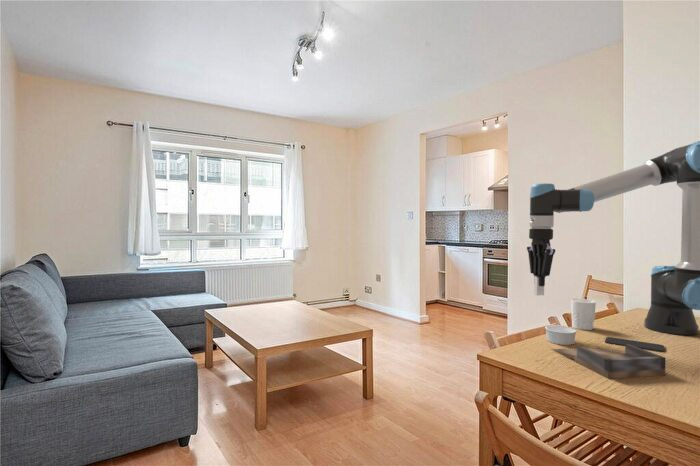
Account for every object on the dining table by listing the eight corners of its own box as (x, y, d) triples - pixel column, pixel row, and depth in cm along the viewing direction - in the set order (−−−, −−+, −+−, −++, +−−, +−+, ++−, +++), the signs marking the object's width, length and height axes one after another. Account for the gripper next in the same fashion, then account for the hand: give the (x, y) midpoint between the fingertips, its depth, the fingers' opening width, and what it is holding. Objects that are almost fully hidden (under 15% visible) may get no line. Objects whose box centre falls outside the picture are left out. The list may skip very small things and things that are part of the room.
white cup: (599, 331, 138) (599, 303, 138) (574, 330, 139) (575, 302, 139) (590, 325, 146) (590, 299, 145) (567, 324, 147) (567, 298, 147)
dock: (597, 350, 121) (598, 332, 121) (665, 379, 99) (665, 357, 98) (550, 352, 119) (550, 334, 119) (607, 382, 96) (608, 360, 96)
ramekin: (579, 347, 121) (579, 333, 120) (547, 344, 123) (547, 330, 123) (572, 339, 129) (572, 326, 129) (543, 336, 132) (543, 323, 132)
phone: (606, 336, 130) (664, 344, 121) (606, 338, 130) (664, 347, 121) (604, 341, 125) (664, 351, 115) (604, 344, 125) (664, 353, 115)
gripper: (520, 227, 142) (518, 291, 143) (542, 228, 129) (540, 298, 130) (539, 227, 143) (537, 291, 144) (563, 228, 130) (561, 298, 131)
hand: (539, 294), depth 137 cm, fingers closed
